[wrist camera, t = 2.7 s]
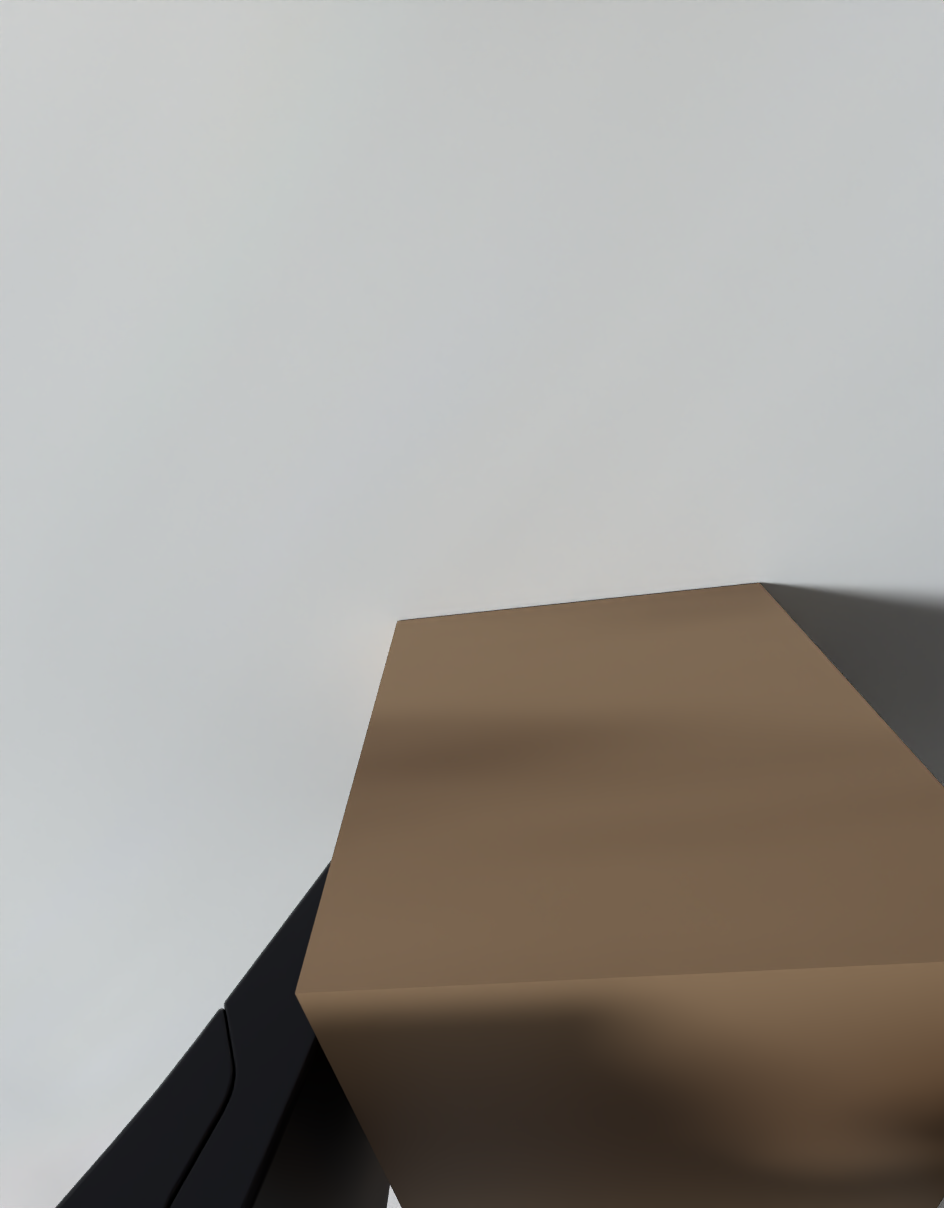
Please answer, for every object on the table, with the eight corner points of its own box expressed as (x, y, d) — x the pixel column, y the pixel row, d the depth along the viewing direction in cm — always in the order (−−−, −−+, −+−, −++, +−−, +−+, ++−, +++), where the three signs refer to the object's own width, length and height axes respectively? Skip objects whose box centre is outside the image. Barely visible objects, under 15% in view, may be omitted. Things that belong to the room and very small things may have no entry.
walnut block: (732, 836, 10) (913, 1248, 6) (451, 855, 11) (423, 1251, 6) (760, 582, 8) (1094, 954, 4) (397, 620, 8) (294, 993, 4)
